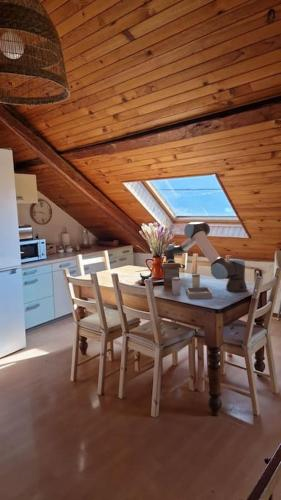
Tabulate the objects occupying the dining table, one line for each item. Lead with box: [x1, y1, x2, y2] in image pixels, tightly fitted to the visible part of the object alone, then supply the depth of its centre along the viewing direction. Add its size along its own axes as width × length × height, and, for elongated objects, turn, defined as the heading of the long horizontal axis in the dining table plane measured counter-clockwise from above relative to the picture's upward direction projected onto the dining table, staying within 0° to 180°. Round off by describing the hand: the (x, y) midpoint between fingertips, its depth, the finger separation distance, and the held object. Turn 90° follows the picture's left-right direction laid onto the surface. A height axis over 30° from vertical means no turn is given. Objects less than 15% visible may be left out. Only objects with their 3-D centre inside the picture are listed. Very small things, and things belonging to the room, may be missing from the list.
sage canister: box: [191, 273, 201, 287], centre depth 263 cm, size 6×6×12 cm
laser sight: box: [139, 271, 155, 289], centre depth 281 cm, size 10×22×10 cm, turn 12°
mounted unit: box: [162, 262, 180, 292], centre depth 267 cm, size 8×12×20 cm, turn 90°
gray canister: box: [171, 277, 181, 296], centre depth 253 cm, size 6×6×12 cm
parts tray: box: [185, 286, 213, 299], centre depth 251 cm, size 16×16×4 cm
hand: (173, 268), depth 278 cm, fingers open, 13 cm apart
